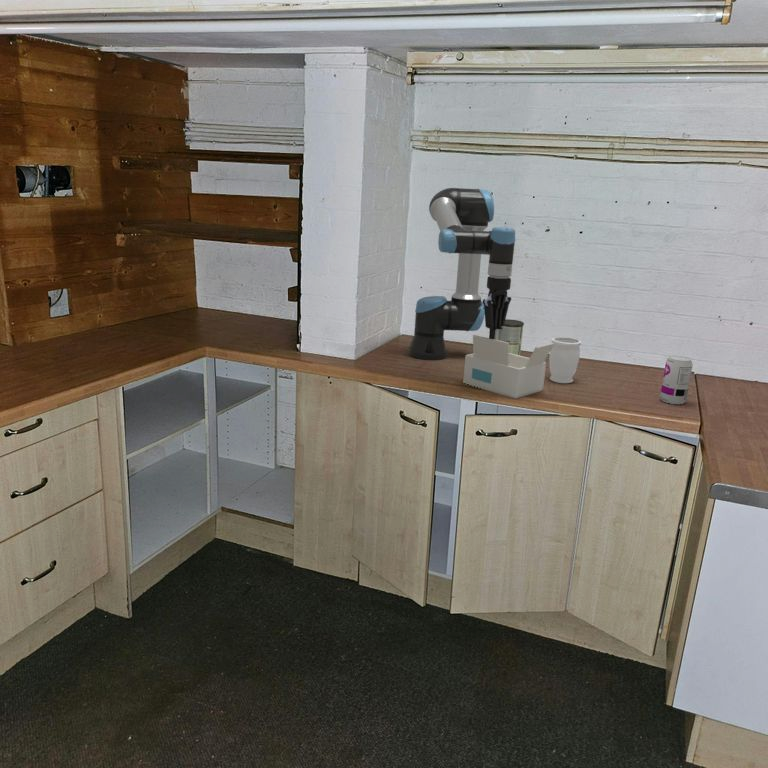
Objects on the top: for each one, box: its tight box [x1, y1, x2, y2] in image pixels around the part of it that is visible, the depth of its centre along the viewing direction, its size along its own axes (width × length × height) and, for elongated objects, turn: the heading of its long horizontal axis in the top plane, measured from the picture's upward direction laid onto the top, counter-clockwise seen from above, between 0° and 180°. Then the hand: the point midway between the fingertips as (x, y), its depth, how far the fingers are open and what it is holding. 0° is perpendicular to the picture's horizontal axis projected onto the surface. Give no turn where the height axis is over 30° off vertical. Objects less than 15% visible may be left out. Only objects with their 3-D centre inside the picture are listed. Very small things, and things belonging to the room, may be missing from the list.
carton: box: [462, 352, 547, 400], centre depth 239 cm, size 23×17×10 cm
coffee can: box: [498, 318, 525, 356], centre depth 283 cm, size 10×10×14 cm
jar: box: [548, 336, 582, 384], centre depth 250 cm, size 11×10×15 cm
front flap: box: [472, 334, 509, 366], centre depth 229 cm, size 14×8×1 cm
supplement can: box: [659, 355, 694, 406], centre depth 231 cm, size 8×8×15 cm
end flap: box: [525, 342, 554, 368], centre depth 227 cm, size 8×10×1 cm
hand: (492, 348), depth 230 cm, fingers closed
